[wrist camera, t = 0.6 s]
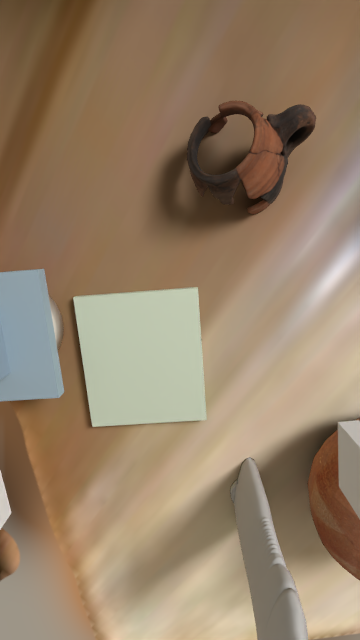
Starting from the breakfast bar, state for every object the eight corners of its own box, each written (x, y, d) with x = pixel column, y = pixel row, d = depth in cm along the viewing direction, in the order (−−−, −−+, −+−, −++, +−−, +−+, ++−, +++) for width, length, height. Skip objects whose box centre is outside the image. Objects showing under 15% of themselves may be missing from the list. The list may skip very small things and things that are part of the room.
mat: (76, 296, 38) (73, 297, 37) (197, 287, 37) (197, 288, 36) (94, 422, 41) (92, 426, 40) (206, 415, 40) (206, 419, 40)
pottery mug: (234, 238, 37) (204, 213, 29) (198, 175, 39) (162, 138, 32) (339, 165, 32) (334, 114, 25) (289, 99, 34) (272, 35, 27)
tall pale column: (234, 453, 42) (283, 673, 20) (266, 455, 41) (351, 678, 20) (226, 524, 44) (263, 789, 22) (257, 526, 44) (323, 794, 22)
